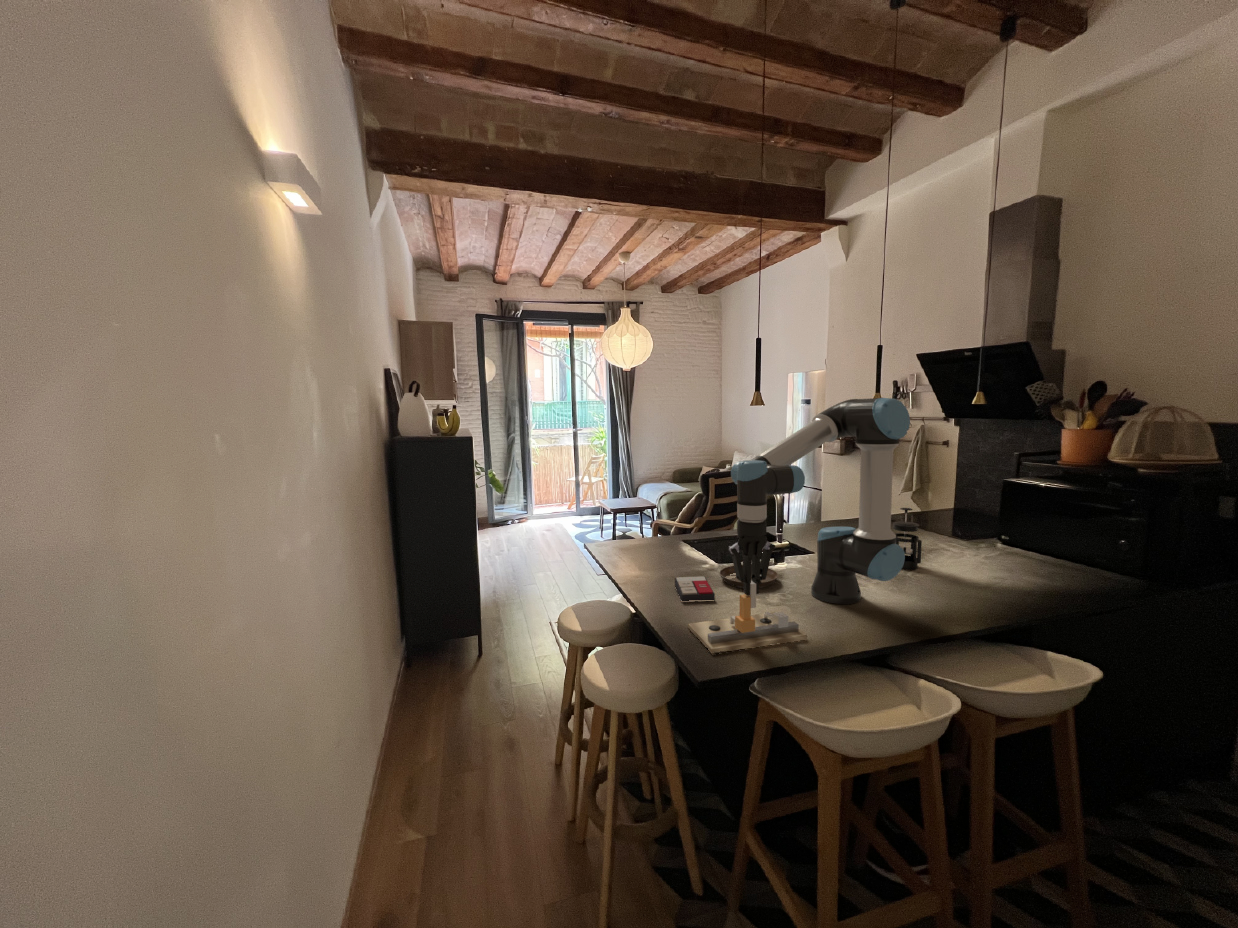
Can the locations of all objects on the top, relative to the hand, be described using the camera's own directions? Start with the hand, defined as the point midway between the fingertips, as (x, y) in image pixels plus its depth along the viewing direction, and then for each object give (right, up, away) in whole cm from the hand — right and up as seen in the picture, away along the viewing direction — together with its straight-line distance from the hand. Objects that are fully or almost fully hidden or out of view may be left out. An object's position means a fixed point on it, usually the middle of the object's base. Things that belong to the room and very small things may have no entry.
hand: (751, 605), depth 134 cm
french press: (+76, -2, +60) cm, 97 cm away
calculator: (-10, -7, +37) cm, 39 cm away
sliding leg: (-2, -8, +4) cm, 9 cm away
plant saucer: (+12, -5, +49) cm, 50 cm away
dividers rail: (0, -8, +4) cm, 9 cm away
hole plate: (0, -10, +6) cm, 11 cm away
